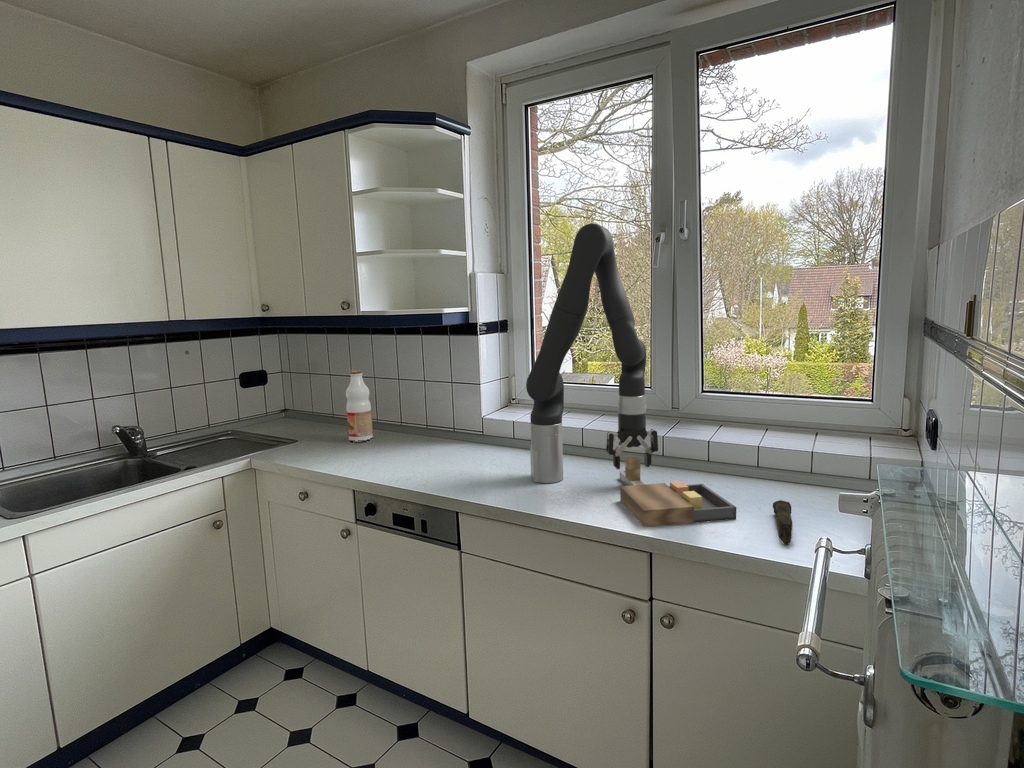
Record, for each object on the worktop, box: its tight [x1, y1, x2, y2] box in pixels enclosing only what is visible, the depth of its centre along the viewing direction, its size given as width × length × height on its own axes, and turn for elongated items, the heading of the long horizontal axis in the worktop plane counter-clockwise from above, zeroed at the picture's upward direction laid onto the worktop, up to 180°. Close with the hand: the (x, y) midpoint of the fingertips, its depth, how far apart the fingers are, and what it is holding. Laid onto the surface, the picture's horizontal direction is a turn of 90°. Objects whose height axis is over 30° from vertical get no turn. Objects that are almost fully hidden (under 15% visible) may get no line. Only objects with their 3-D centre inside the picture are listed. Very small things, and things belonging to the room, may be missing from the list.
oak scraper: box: [619, 455, 645, 486], centre depth 163 cm, size 3×15×8 cm, turn 7°
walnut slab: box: [619, 482, 695, 528], centre depth 144 cm, size 12×18×4 cm, turn 7°
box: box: [668, 483, 737, 524], centre depth 145 cm, size 10×18×3 cm, turn 7°
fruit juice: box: [345, 369, 374, 441], centre depth 229 cm, size 9×9×28 cm
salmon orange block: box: [669, 481, 689, 497], centre depth 148 cm, size 4×4×3 cm
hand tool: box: [772, 499, 793, 546], centre depth 130 cm, size 19×4×5 cm, turn 156°
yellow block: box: [682, 491, 702, 509], centre depth 141 cm, size 4×4×3 cm
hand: (632, 467), depth 163 cm, fingers open, 8 cm apart
